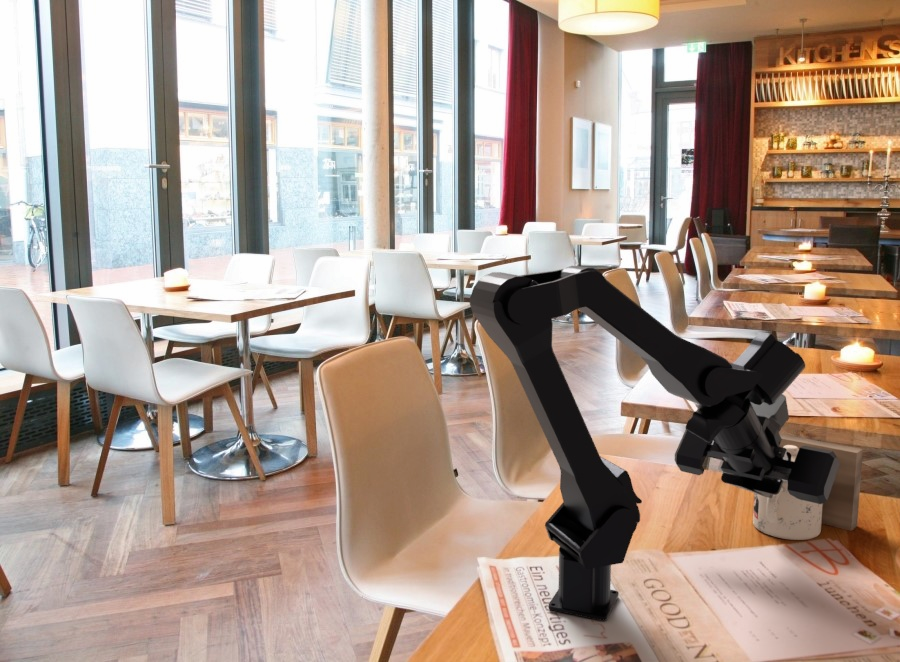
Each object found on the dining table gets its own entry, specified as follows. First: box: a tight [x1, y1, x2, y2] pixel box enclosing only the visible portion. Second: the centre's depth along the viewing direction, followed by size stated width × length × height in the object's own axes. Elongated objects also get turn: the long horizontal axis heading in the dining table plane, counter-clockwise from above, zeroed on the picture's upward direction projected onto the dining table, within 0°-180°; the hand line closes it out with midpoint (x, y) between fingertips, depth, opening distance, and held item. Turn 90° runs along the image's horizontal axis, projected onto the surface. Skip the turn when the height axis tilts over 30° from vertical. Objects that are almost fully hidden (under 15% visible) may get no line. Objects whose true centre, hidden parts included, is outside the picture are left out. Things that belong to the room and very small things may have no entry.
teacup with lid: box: [752, 445, 823, 541], centre depth 108 cm, size 12×9×12 cm
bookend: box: [779, 433, 864, 532], centre depth 113 cm, size 2×13×11 cm, turn 46°
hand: (770, 494), depth 103 cm, fingers closed, pressing on teacup with lid
